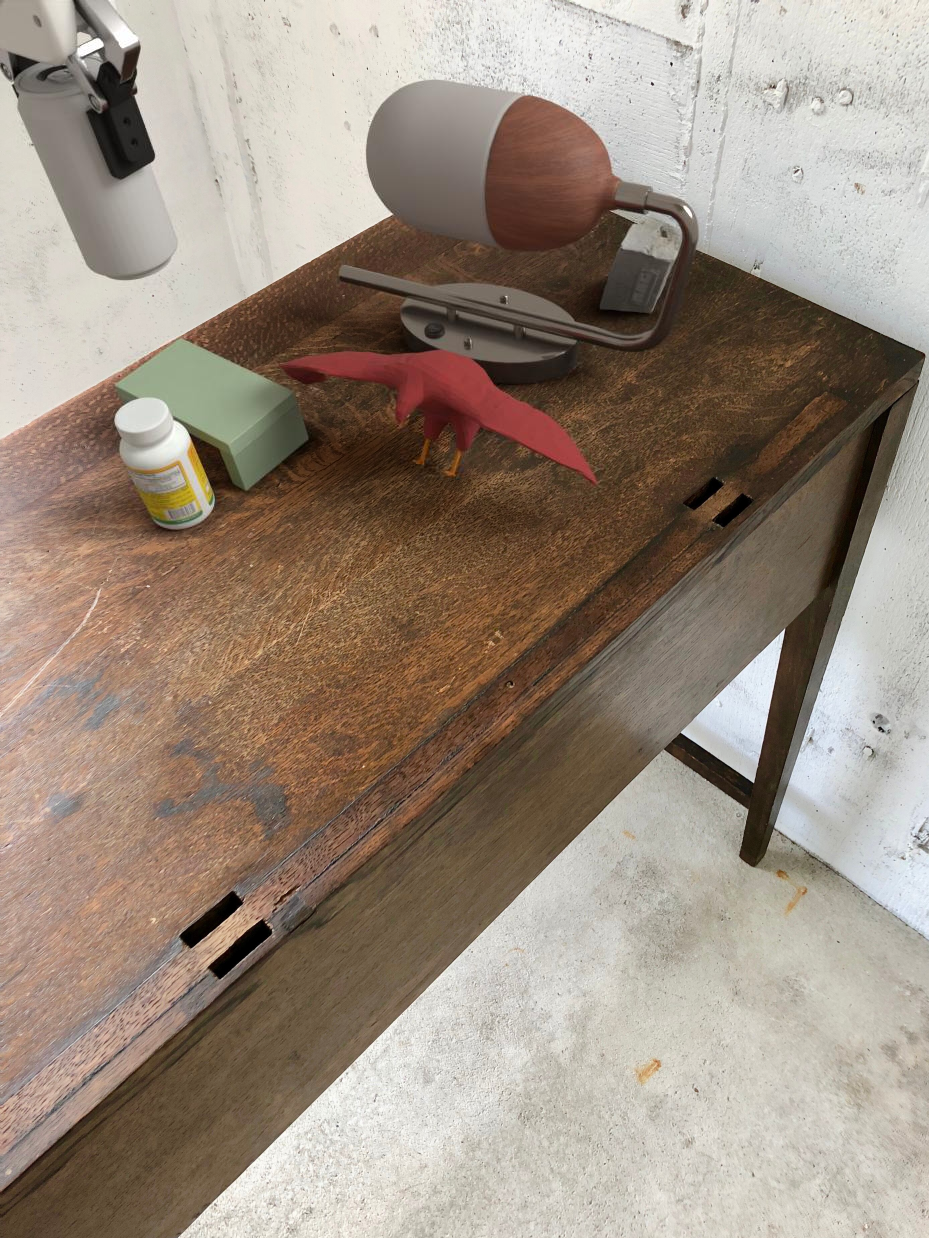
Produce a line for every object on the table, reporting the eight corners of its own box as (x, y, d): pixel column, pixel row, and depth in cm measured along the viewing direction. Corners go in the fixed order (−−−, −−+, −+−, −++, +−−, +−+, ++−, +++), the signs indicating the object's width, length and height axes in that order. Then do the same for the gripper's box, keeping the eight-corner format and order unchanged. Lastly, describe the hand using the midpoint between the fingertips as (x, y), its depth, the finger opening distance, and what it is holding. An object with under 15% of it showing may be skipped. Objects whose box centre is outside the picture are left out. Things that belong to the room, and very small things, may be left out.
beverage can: (145, 229, 69) (73, 42, 60) (200, 253, 67) (135, 62, 57) (72, 269, 67) (-15, 80, 57) (126, 296, 64) (45, 102, 54)
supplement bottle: (189, 539, 76) (144, 447, 68) (138, 520, 78) (88, 427, 70) (230, 495, 79) (191, 401, 71) (179, 477, 80) (136, 384, 73)
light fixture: (333, 35, 78) (735, 98, 68) (379, 276, 96) (704, 356, 85) (256, 93, 73) (679, 172, 62) (320, 337, 91) (658, 431, 80)
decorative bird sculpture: (340, 434, 89) (235, 403, 75) (369, 335, 87) (267, 285, 73) (612, 534, 79) (550, 519, 65) (652, 426, 77) (597, 387, 64)
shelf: (136, 431, 84) (113, 384, 80) (199, 384, 88) (180, 337, 84) (246, 491, 79) (227, 444, 75) (309, 439, 82) (294, 391, 78)
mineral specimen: (590, 325, 88) (592, 233, 82) (611, 291, 94) (614, 203, 88) (670, 332, 86) (677, 239, 81) (686, 296, 92) (694, 207, 87)
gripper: (-213, -215, 48) (-29, 148, 63) (-13, -178, 42) (141, 219, 56) (-86, -252, 52) (61, 101, 66) (119, -224, 45) (233, 162, 59)
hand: (97, 152), depth 61 cm, fingers closed on beverage can, 6 cm apart
